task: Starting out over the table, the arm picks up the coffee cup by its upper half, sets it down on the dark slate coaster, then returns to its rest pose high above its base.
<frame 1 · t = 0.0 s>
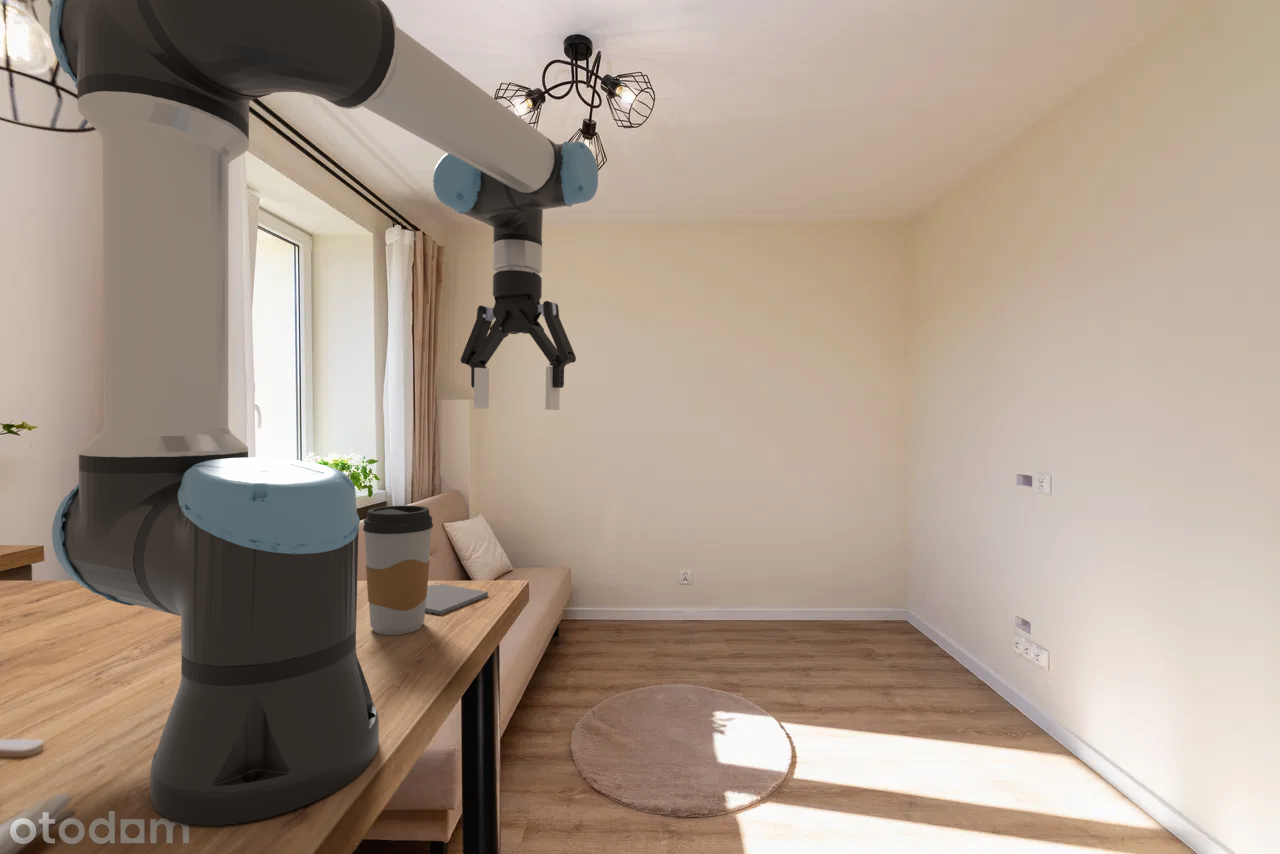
hand: (515, 409, 98), 28 cm above the table, fingers open, 13 cm apart
coaster: (438, 600, 91), on the table
coffee cup: (397, 628, 79), on the table
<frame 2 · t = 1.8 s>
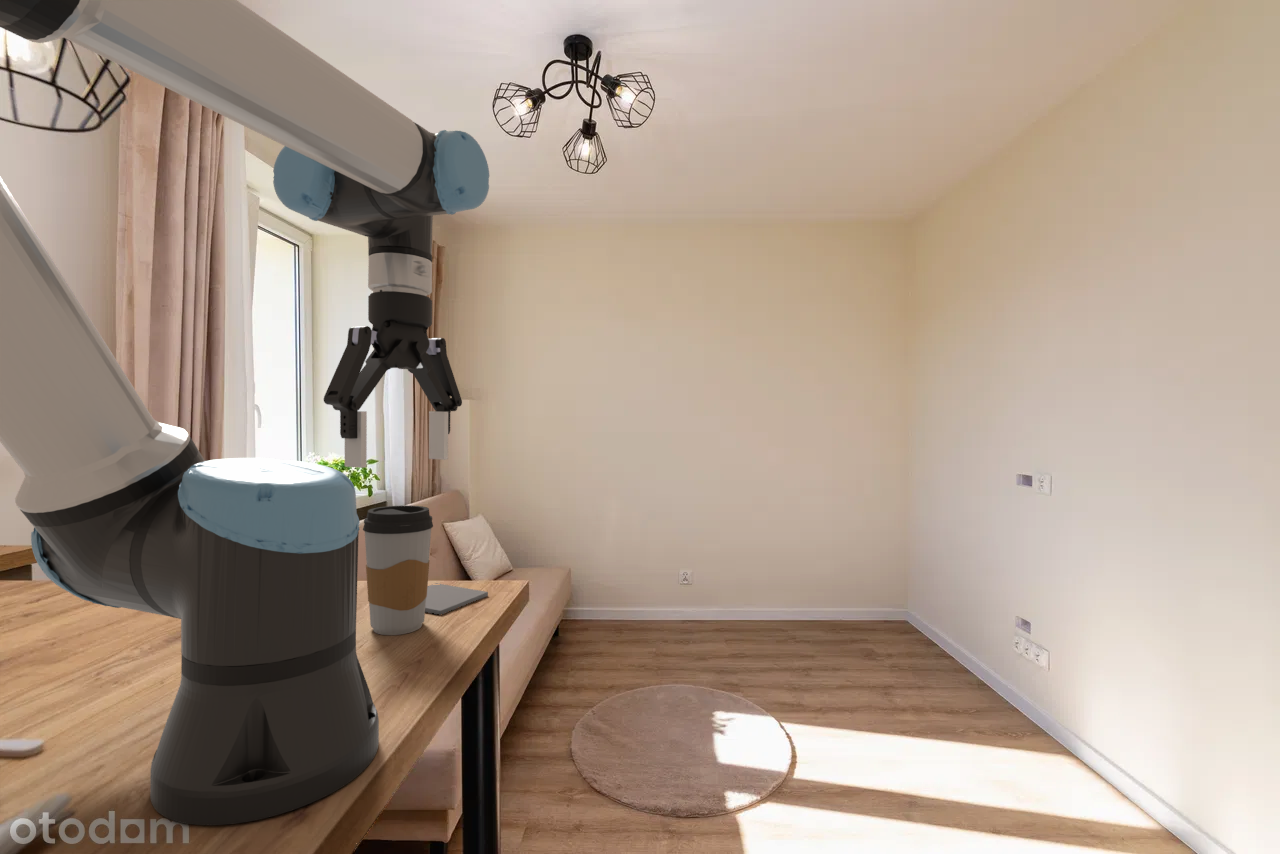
hand: (400, 463, 79), 21 cm above the table, fingers open, 13 cm apart
nothing on the table moved.
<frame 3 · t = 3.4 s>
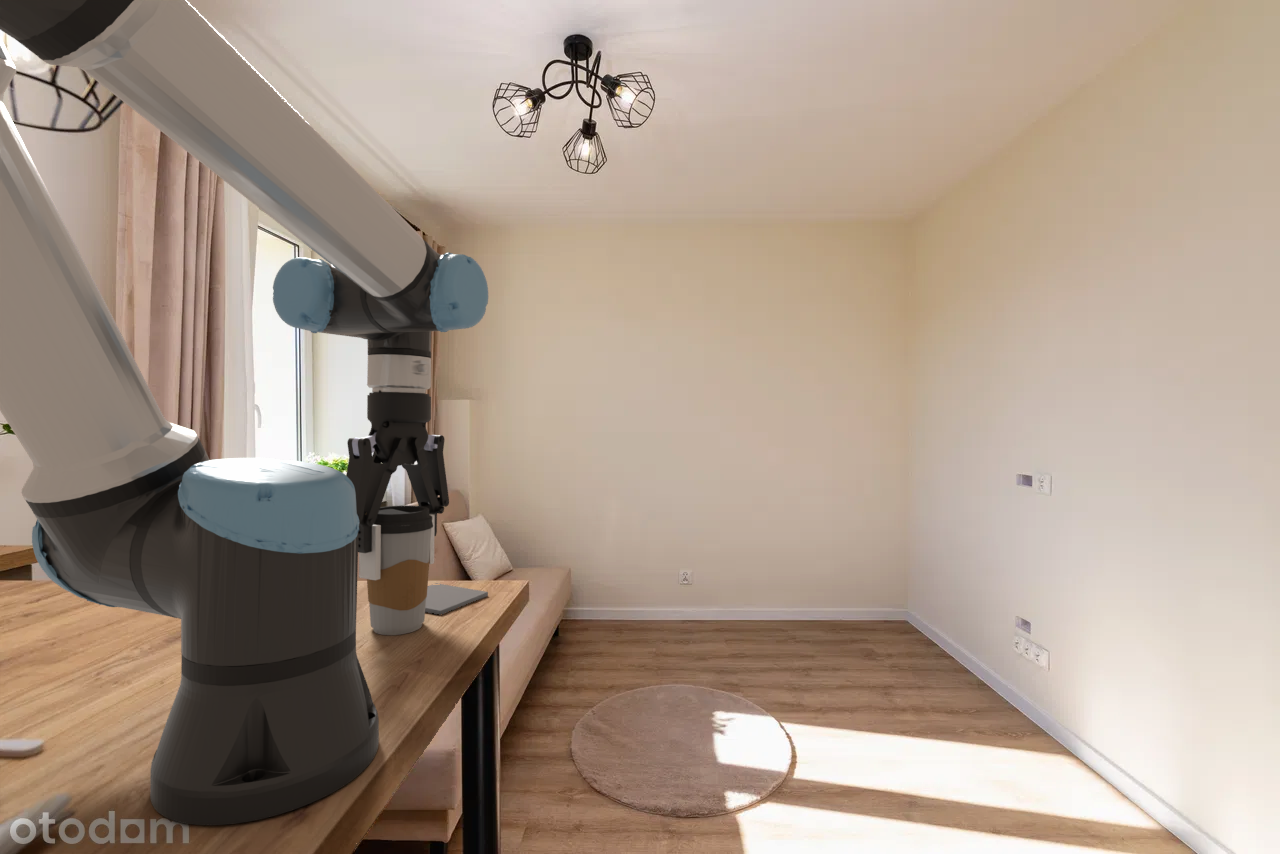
hand: (398, 569, 79), 7 cm above the table, fingers closed on coffee cup, 8 cm apart
coffee cup: (397, 628, 79), on the table, touching gripper
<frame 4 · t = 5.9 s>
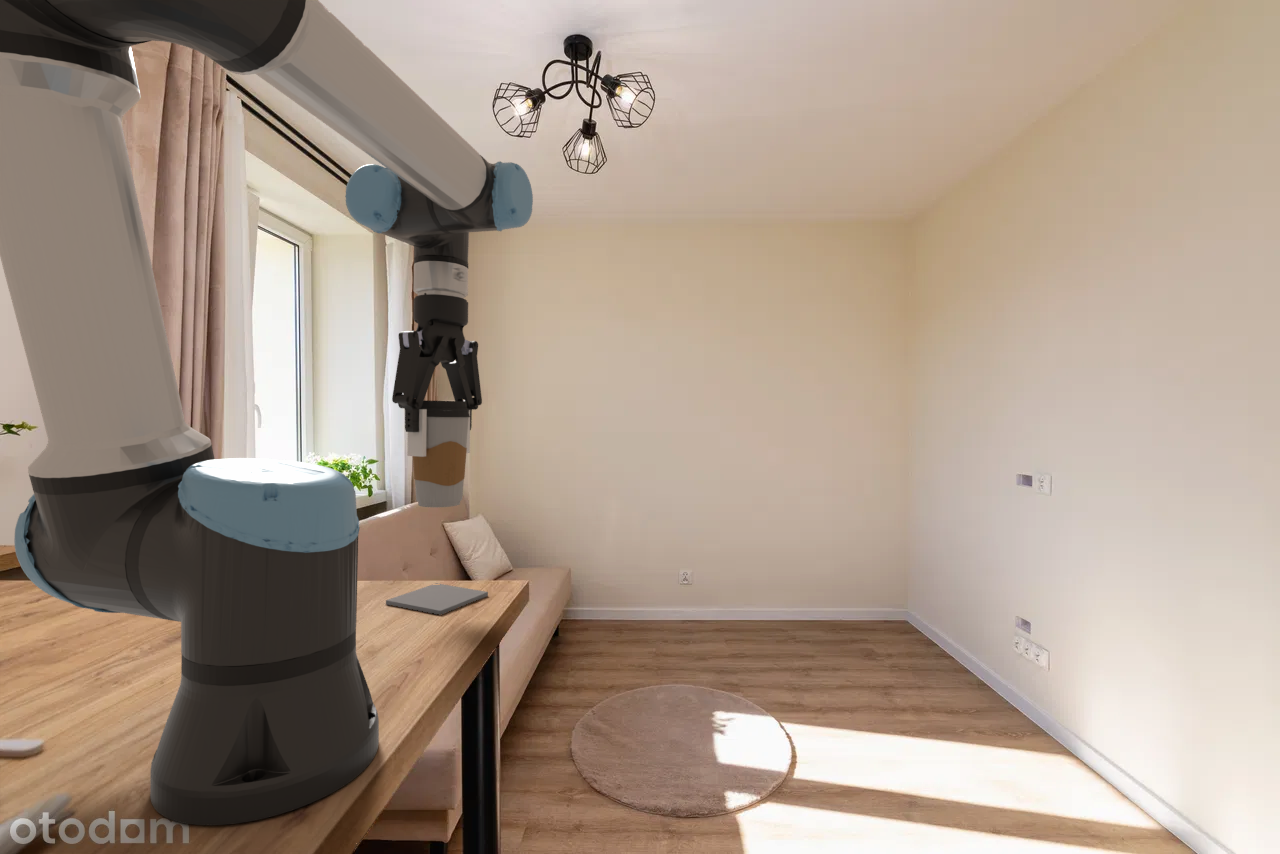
hand: (439, 454, 90), 21 cm above the table, fingers closed on coffee cup, 8 cm apart
coffee cup: (439, 505, 91), point 14 cm above the table, touching gripper
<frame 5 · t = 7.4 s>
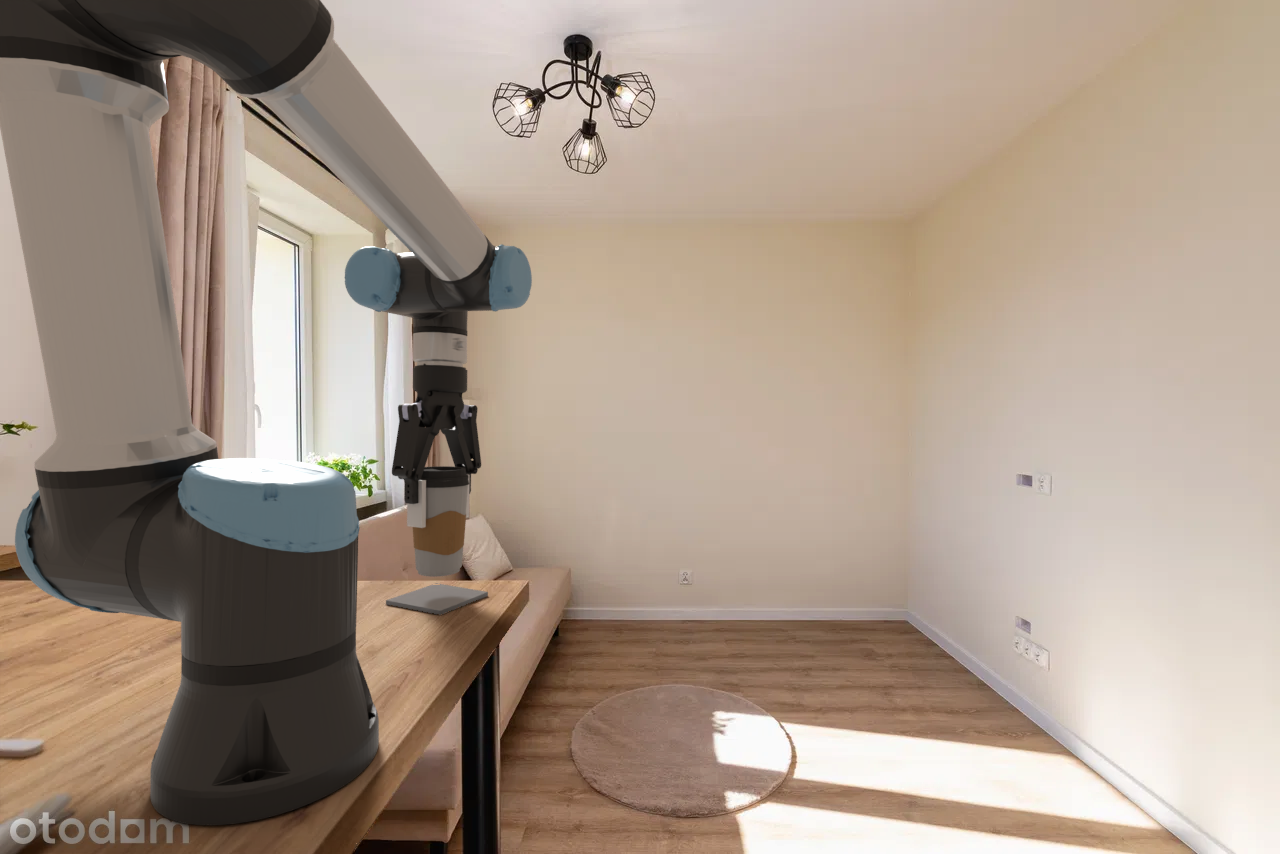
hand: (439, 521, 91), 11 cm above the table, fingers closed on coffee cup, 8 cm apart
coffee cup: (439, 572, 91), point 4 cm above the table, touching gripper
when the fingers open (9 cm above the table, at t = 8.4 s): coffee cup drops 1 cm, resting on coaster.
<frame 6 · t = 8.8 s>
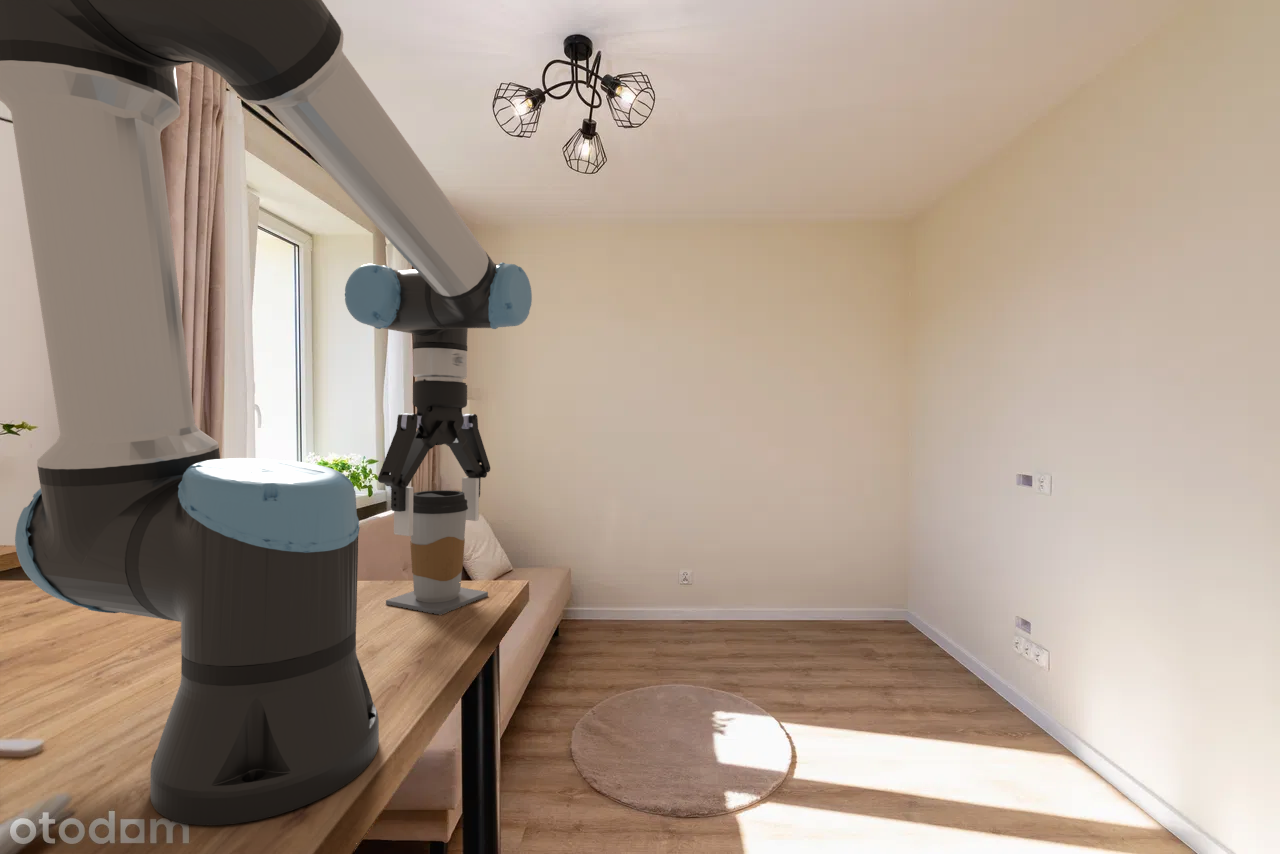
hand: (438, 527, 91), 11 cm above the table, fingers open, 13 cm apart
coffee cup: (437, 597, 91), resting on coaster
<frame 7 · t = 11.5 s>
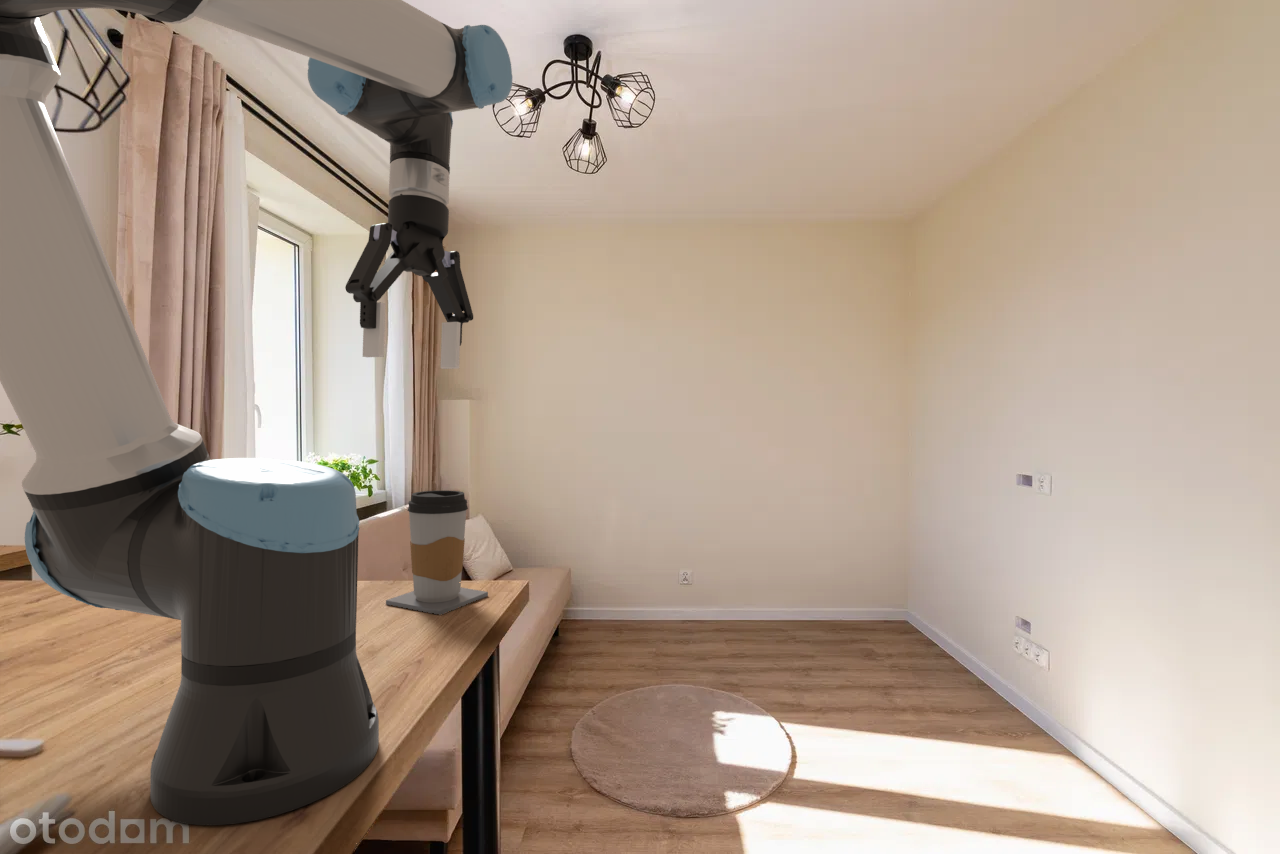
hand: (414, 363, 82), 34 cm above the table, fingers open, 13 cm apart
nothing on the table moved.
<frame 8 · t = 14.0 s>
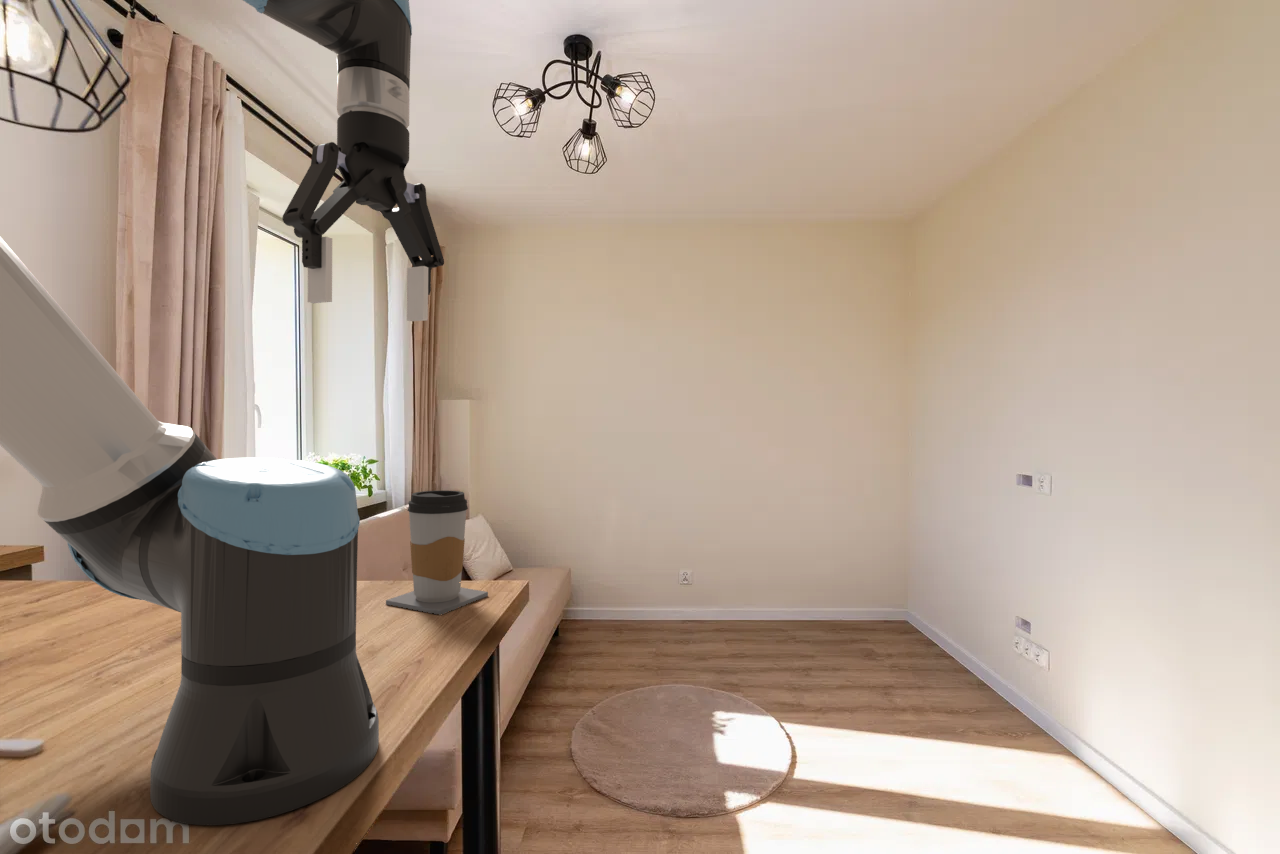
hand: (372, 312, 71), 39 cm above the table, fingers open, 13 cm apart
nothing on the table moved.
at the end: coffee cup inside the target area on the coaster (0.3 cm from its centre), point 0.4 cm above the coaster's base; coffee cup tilted 0°; the gripper is holding nothing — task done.
